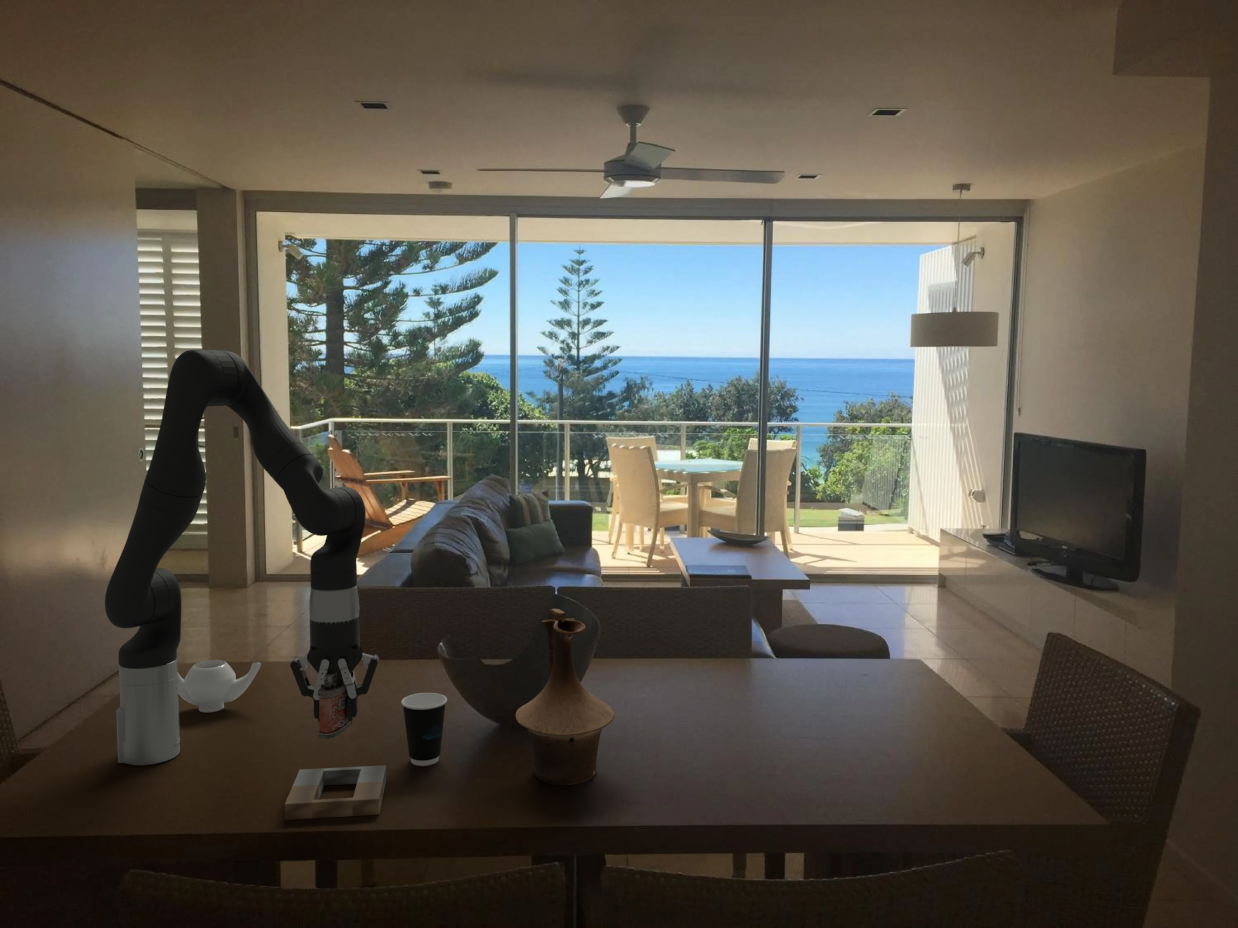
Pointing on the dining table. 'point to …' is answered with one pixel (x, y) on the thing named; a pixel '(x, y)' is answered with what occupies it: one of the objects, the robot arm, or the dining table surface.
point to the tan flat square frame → (364, 801)
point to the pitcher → (564, 713)
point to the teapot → (213, 684)
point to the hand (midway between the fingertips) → (336, 719)
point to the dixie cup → (424, 726)
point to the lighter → (333, 707)
